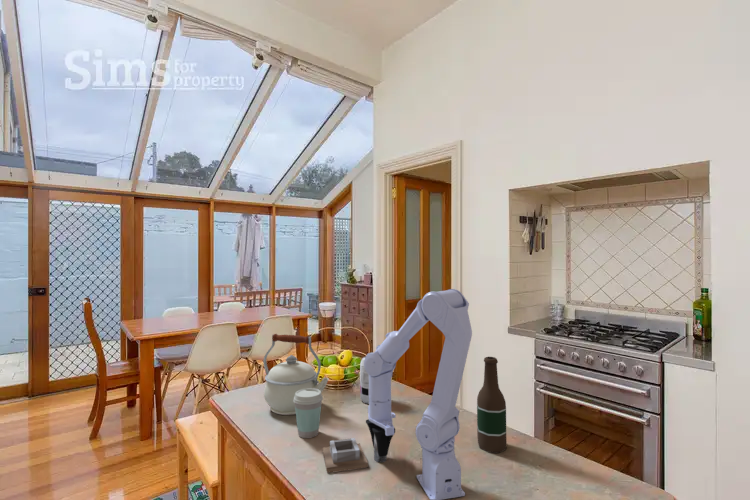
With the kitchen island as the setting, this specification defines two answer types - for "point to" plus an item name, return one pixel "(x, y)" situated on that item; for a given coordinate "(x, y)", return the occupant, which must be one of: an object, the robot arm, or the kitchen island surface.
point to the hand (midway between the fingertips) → (380, 451)
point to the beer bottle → (491, 411)
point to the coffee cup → (308, 411)
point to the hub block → (344, 456)
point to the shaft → (376, 456)
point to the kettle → (289, 377)
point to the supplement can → (364, 383)
